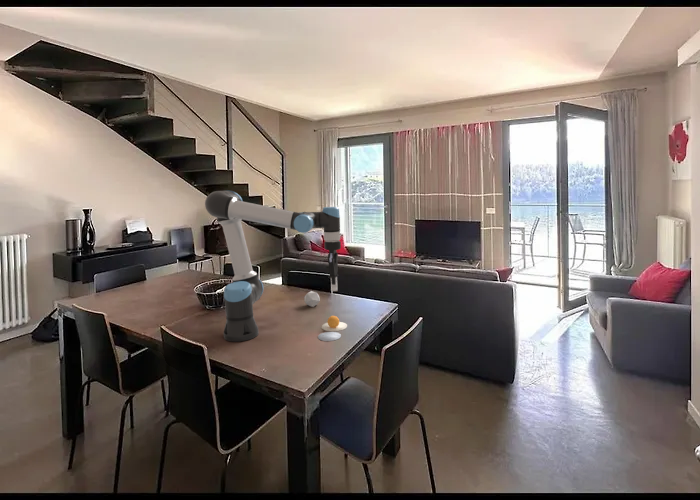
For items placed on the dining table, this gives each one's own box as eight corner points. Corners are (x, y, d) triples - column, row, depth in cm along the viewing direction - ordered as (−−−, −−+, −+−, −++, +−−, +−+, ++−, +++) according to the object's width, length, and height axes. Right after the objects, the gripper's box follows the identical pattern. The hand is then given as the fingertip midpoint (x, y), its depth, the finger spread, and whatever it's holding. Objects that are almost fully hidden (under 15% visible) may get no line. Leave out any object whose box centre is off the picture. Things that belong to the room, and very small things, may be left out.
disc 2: (315, 340, 163) (315, 340, 163) (320, 331, 173) (320, 331, 173) (338, 341, 162) (338, 340, 162) (342, 332, 172) (342, 332, 172)
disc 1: (319, 331, 174) (319, 330, 174) (324, 321, 186) (324, 321, 186) (345, 331, 172) (345, 331, 172) (348, 322, 184) (348, 321, 184)
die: (323, 307, 211) (321, 290, 215) (314, 303, 204) (313, 286, 209) (311, 310, 214) (309, 294, 219) (302, 307, 207) (300, 290, 212)
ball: (329, 329, 180) (326, 326, 175) (329, 317, 182) (326, 314, 177) (340, 328, 178) (337, 325, 174) (340, 316, 181) (337, 313, 176)
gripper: (338, 242, 169) (339, 294, 173) (342, 238, 182) (344, 286, 186) (321, 242, 170) (323, 294, 174) (327, 238, 183) (329, 286, 187)
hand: (334, 290), depth 180 cm, fingers closed
